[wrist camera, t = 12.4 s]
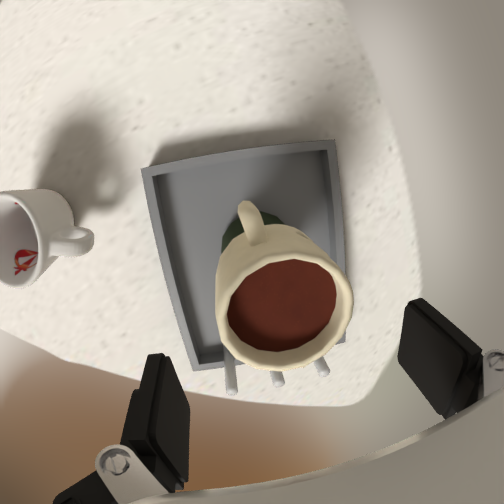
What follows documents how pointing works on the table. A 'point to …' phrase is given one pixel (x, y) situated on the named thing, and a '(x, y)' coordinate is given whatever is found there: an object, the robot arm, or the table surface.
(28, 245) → the cup
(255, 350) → the character mug
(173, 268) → the dish rack
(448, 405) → the robot arm
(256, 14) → the table surface
